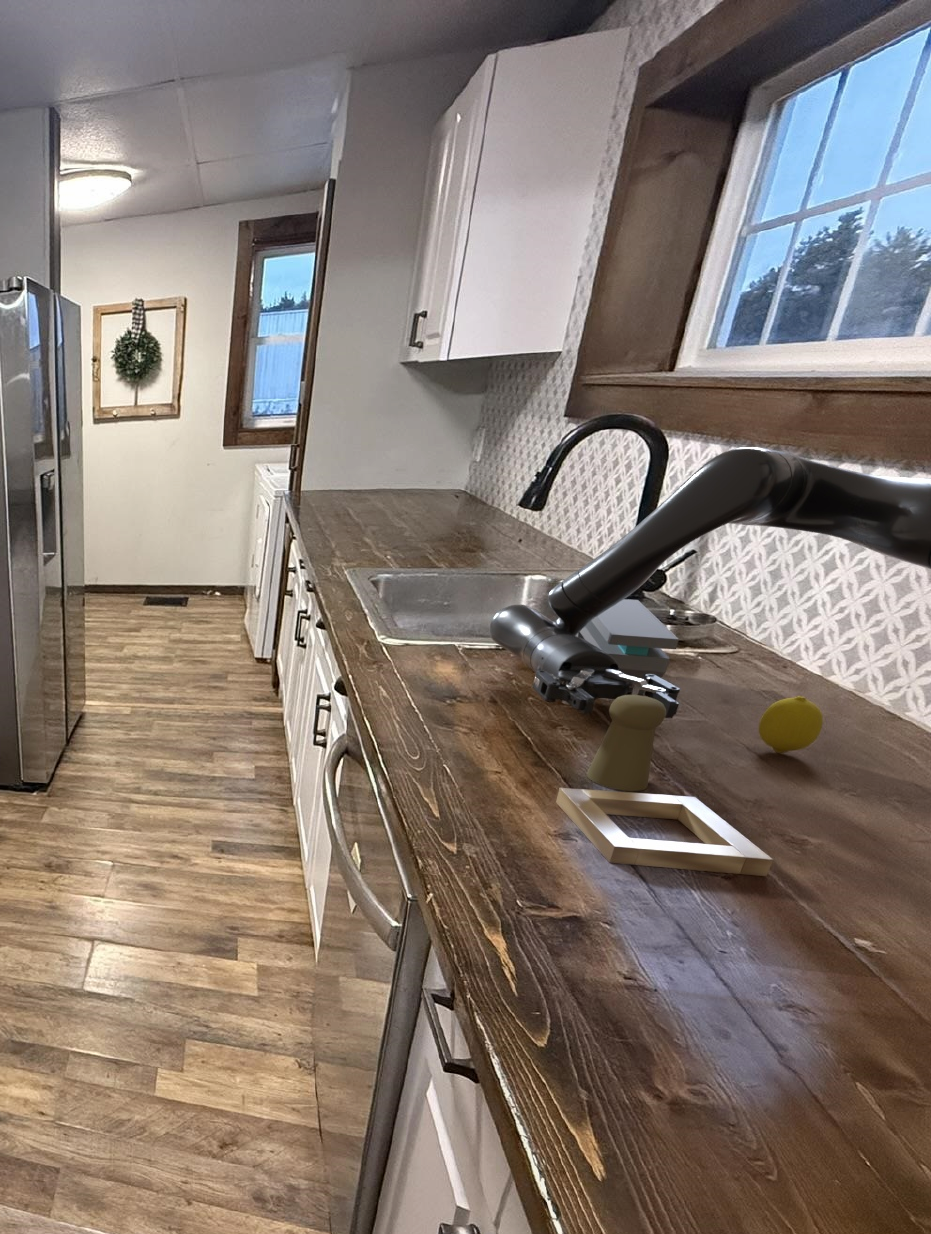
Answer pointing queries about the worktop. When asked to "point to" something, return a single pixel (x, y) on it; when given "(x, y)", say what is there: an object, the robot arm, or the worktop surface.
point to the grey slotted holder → (631, 638)
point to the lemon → (790, 724)
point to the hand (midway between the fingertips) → (630, 708)
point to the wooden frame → (716, 855)
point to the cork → (627, 744)
